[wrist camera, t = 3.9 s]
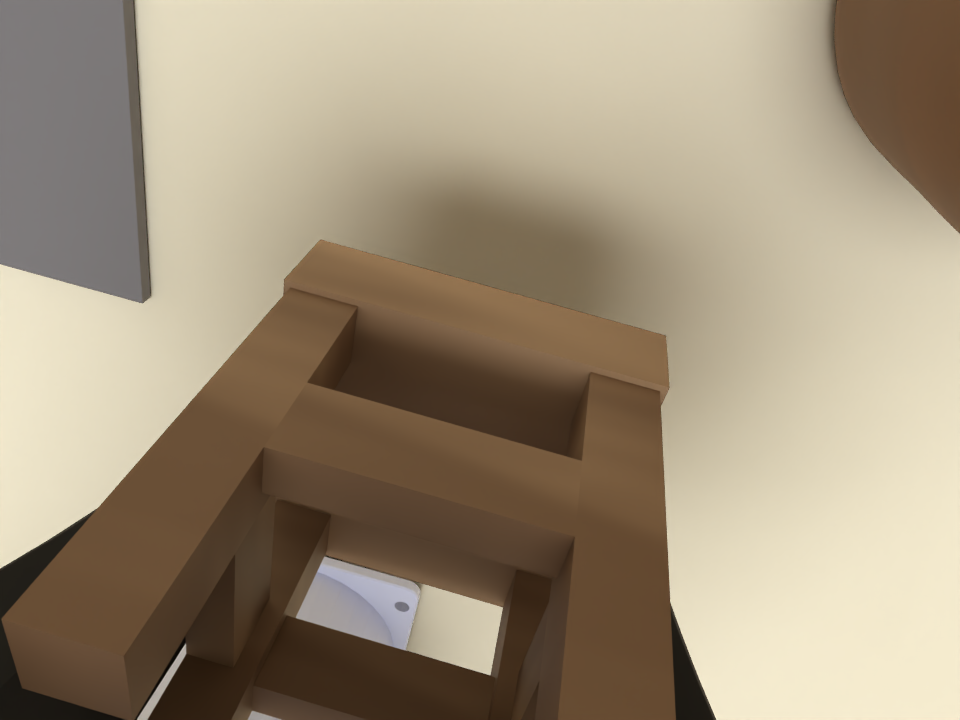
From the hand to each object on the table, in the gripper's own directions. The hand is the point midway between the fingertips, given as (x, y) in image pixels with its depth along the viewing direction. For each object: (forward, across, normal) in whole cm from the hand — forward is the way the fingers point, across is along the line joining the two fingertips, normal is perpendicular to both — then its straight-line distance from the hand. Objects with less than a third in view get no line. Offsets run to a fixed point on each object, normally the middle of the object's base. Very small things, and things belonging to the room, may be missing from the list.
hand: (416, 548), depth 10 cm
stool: (+3, 0, 0) cm, 3 cm away
